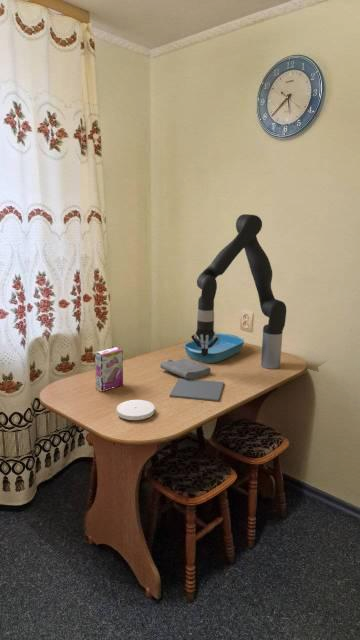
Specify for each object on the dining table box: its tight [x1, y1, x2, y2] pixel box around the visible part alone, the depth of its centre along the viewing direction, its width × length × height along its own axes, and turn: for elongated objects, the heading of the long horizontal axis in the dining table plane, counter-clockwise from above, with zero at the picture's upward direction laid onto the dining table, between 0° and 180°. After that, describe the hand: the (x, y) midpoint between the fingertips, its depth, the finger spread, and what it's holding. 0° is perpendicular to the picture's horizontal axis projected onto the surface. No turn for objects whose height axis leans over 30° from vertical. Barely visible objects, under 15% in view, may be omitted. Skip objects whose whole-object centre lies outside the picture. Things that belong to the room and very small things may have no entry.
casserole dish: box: [183, 333, 245, 364], centre depth 228 cm, size 37×22×7 cm, turn 141°
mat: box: [169, 377, 225, 403], centre depth 183 cm, size 19×20×1 cm
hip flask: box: [159, 357, 212, 380], centre depth 203 cm, size 16×4×20 cm
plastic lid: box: [116, 399, 156, 421], centre depth 161 cm, size 14×14×2 cm
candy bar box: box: [94, 346, 124, 392], centre depth 183 cm, size 11×5×16 cm, turn 134°
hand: (204, 355), depth 199 cm, fingers closed
